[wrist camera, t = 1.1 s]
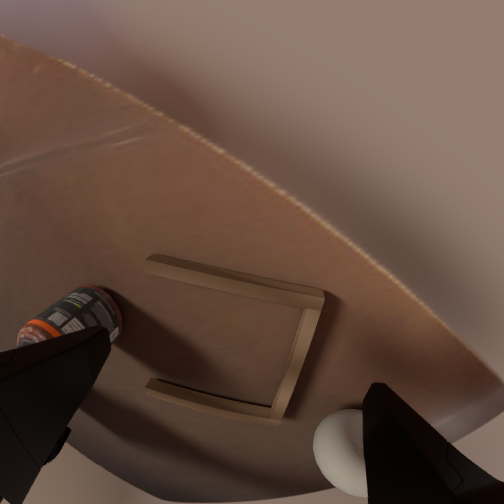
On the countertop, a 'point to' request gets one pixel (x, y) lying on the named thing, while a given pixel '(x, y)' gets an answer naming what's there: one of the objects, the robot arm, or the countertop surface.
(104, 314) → the supplement bottle
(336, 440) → the donut
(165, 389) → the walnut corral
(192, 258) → the countertop surface
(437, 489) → the robot arm
